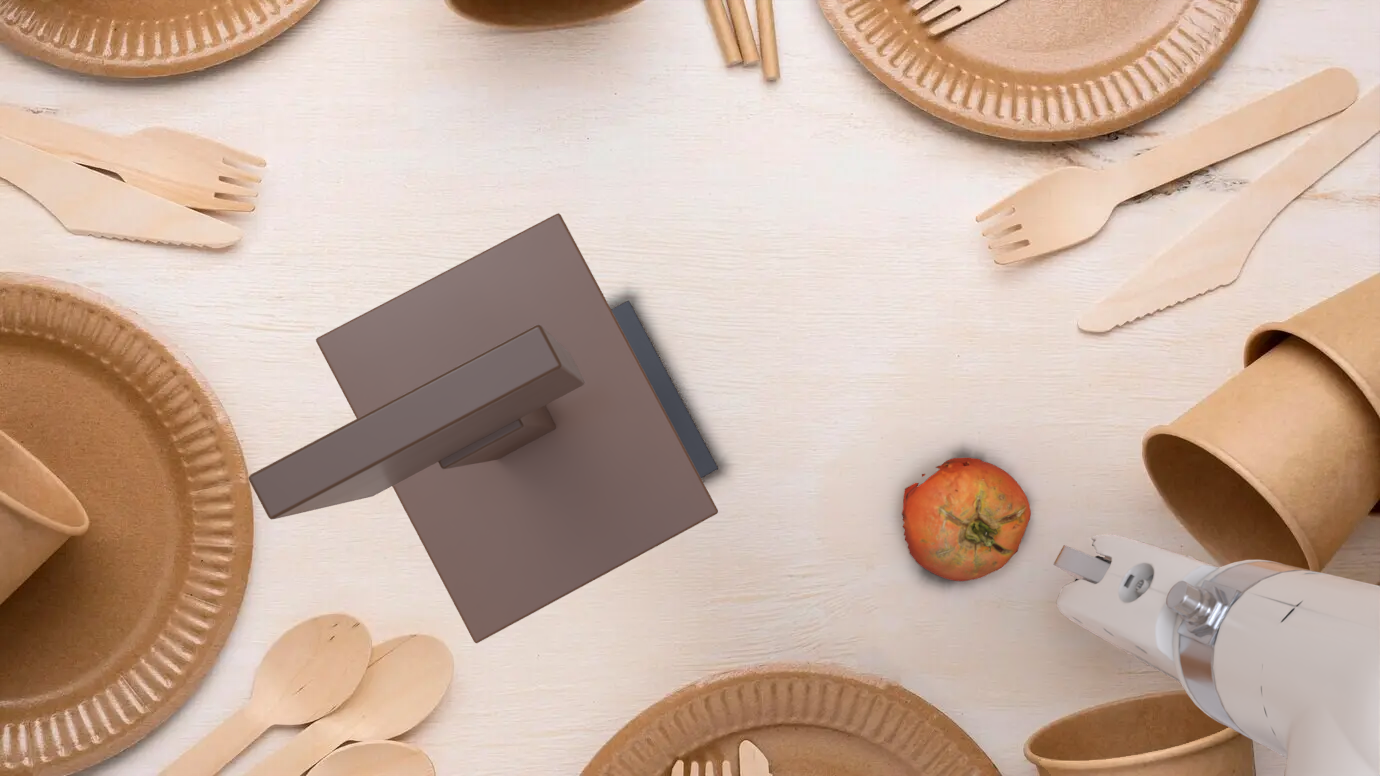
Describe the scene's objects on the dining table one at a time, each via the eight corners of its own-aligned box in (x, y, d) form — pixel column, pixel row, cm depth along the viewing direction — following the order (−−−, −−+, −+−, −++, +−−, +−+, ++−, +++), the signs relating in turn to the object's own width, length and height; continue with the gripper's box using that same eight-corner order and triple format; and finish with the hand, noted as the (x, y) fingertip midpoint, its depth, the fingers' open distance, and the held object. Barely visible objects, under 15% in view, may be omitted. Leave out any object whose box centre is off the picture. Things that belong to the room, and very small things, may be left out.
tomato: (880, 576, 65) (938, 511, 60) (876, 488, 70) (929, 421, 65) (995, 608, 67) (1061, 547, 62) (983, 520, 72) (1044, 457, 66)
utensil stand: (717, 468, 67) (915, 575, 17) (549, 558, 66) (237, 947, 16) (628, 301, 67) (564, -79, 17) (460, 390, 66) (-117, 262, 16)
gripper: (1081, 643, 45) (955, 578, 63) (1384, 816, 45) (1171, 701, 63) (1165, 488, 45) (1016, 468, 63) (1465, 661, 45) (1230, 591, 63)
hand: (1094, 584), depth 63 cm, fingers closed
